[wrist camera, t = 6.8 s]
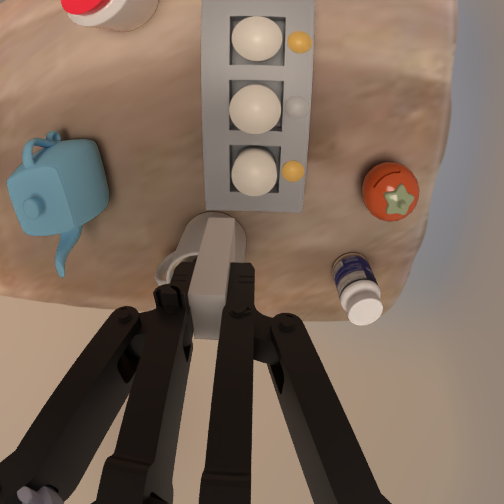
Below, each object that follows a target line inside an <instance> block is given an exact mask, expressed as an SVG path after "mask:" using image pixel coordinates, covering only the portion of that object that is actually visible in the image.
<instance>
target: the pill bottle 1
mask: <svg viewBox="0 0 504 504" xmlns="http://www.w3.org/2000/svg"><path fill="white" fill-rule="evenodd" d="M158 1H159V0H61V4H62V7H63V8H64V10H65V11H66V12H67V13H68V16H69V17H70V19H71V20H72V21H73V22H74V23H76V24H78V25H80V26H84V27H91V28H99V29H106V30H112V31H119V32H126V31H131V30H134V29H136V28H138V27H140V26H142V25H143V24H145V23H146V22H147V21H148V20H149V19H150V18H151V17H152V15H153V14H154V12H155V10H156V8H157V5H158Z"/></svg>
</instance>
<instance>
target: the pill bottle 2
mask: <svg viewBox="0 0 504 504" xmlns="http://www.w3.org/2000/svg"><path fill="white" fill-rule="evenodd" d="M332 274H333V278H334V281H335V284H336V288H337V291H338V295H339V299H340V302H341V305H342V307H343V308H344V309H345V310H346V311H347V315H348V318H349V320H350V321H351V322H352V323H354V324H356V325H367V324H370V323H372V322H374V321H375V320H377V318H379V317H380V315H381V313H382V310H383V306H382V303H381V300H380V295H381V294H380V289H379V286H378V284H377V281H376V279H375V277H374V275H373V272H372V270H371V268H370V266H369V263H368V261H367V260H366V258H365V257H364V256H362V255H361V254H358V253H348V254H345V255H343V256H341V257H340V258H338V259H337V260H336V262H335V263H334V265H333V269H332Z"/></svg>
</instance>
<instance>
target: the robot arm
mask: <svg viewBox="0 0 504 504" xmlns="http://www.w3.org/2000/svg"><path fill="white" fill-rule="evenodd" d="M254 282H255V269H254V267H253V266H252V264H251V263H238V262H235V218H208V222H207V225H206V229H205V232H204V236H203V239H202V243H201V246H200V250H199V254H198V257H197V261H196V262H182V261H181V262H180V263H179V264H178V265H177V266H176V267H175V269H174V272H173V276H172V278H171V281H170V283H168V284H163V285H161V286H159V287H157V288H156V289H155V291H154V292H153V294H154V299H155V303H156V309H154V310H152V311H148V312H142V313H138V311H137V310H136V309H135V308H133V307H130V306H124V307H120V308H118V309H116V310H115V311H114V312H113V313H112V314H111V315H110V316H109V318H108V319H107V320H106V321H105V323H104V324H103V325H102V327H101V328H100V329H99V331H98V332H97V333H96V334H95V336H94V337H93V338H92V340H91V341H90V342H89V344H88V345H87V346H86V348H85V349H84V350H83V352H82V353H81V354H80V356H79V357H78V358H77V360H76V361H75V363H74V364H73V365H72V367H71V368H70V369H69V371H68V372H67V374H66V375H65V376H64V378H63V379H62V381H61V382H60V384H59V385H58V386H57V388H56V389H55V391H54V392H53V394H52V395H51V396H50V398H49V399H48V401H47V402H46V404H45V405H44V407H43V408H42V410H41V412H40V413H39V414H38V416H37V417H36V419H35V420H34V422H33V424H32V425H31V427H30V428H29V430H28V431H27V433H26V434H25V436H24V438H23V439H22V441H21V442H20V444H19V446H18V447H17V449H16V450H15V451H14V452H13V453H12V454H10V455H9V456H8V457H7V458H5V459H4V460H3V461H2V462H0V504H64V501H65V500H67V499H68V498H69V496H70V495H71V494H72V493H73V492H74V490H75V489H76V487H77V486H78V484H79V482H80V480H81V479H82V477H83V475H84V473H85V471H86V470H87V468H88V466H89V464H90V462H91V460H92V459H93V457H94V455H95V453H96V451H97V449H98V448H99V446H100V444H101V442H102V440H103V439H104V437H105V435H106V433H107V431H108V430H109V428H110V426H111V425H112V423H113V421H114V419H115V417H116V416H117V414H118V412H119V410H120V409H121V407H122V405H123V404H124V402H125V400H126V398H127V396H128V395H129V398H128V402H127V405H126V409H125V413H124V416H123V421H122V424H121V428H120V432H119V436H118V440H117V444H116V448H115V452H114V454H113V455H112V456H110V457H108V458H107V459H106V461H105V464H104V467H103V471H102V475H101V480H100V484H99V489H98V494H97V499H96V501H94V502H93V503H91V504H173V485H172V477H173V470H174V463H175V456H176V449H177V442H178V435H179V429H180V421H181V415H182V409H183V403H184V397H185V390H186V385H187V379H188V373H189V367H190V362H191V356H192V351H193V343H192V337H193V332H194V338H195V339H211V340H219V343H218V350H217V359H216V367H215V376H214V385H213V393H212V402H211V412H210V421H209V430H208V440H207V441H208V442H207V450H206V461H205V468H204V471H203V473H202V477H201V485H200V494H199V504H251V449H252V403H253V360H257V361H260V362H263V363H267V366H268V369H269V372H270V375H271V378H272V381H273V384H274V388H275V391H276V393H277V396H278V399H279V403H280V405H281V409H282V411H283V415H284V417H285V421H286V424H287V426H288V429H289V432H290V435H291V438H292V441H293V444H294V447H295V450H296V453H297V456H298V459H299V462H300V464H301V467H302V470H303V473H304V476H305V479H306V481H307V484H308V487H309V490H310V493H311V496H312V499H313V501H314V504H391V503H390V502H389V501H388V500H387V499H386V498H385V497H384V496H383V495H382V494H381V493H380V490H379V488H378V486H377V484H376V481H375V479H374V477H373V474H372V472H371V470H370V468H369V466H368V463H367V461H366V459H365V457H364V454H363V452H362V450H361V447H360V445H359V443H358V441H357V439H356V436H355V434H354V432H353V430H352V427H351V425H350V423H349V421H348V419H347V417H346V414H345V412H344V410H343V408H342V406H341V403H340V401H339V399H338V397H337V395H336V392H335V390H334V388H333V386H332V384H331V382H330V379H329V377H328V375H327V373H326V371H325V369H324V366H323V364H322V362H321V360H320V358H319V356H318V354H317V352H316V349H315V347H314V345H313V343H312V341H311V339H310V336H309V334H308V332H307V330H306V328H305V326H304V324H303V322H302V320H301V319H300V318H299V317H298V316H296V315H294V314H291V313H281V314H278V315H276V316H275V317H273V318H271V317H268V316H265V315H263V314H261V313H259V312H258V311H257V310H256V308H255V305H254ZM129 393H130V394H129Z"/></svg>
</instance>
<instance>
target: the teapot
mask: <svg viewBox="0 0 504 504" xmlns="http://www.w3.org/2000/svg"><path fill="white" fill-rule="evenodd" d="M33 146H41V147H44V148H43V149H41V150H39V151H38V152H36V153H35V154H33V155H32V149H33ZM22 159H23V163H22V164H21V165H20V166H19V167H18V168H17V169H16V170H15V171H14V172H13V174H12V175H11V176H10V177H9V179H8V180H7V188H8V192H9V195H10V198H11V202H12V205H13V207H14V210H15V213H16V215H17V218H18V220H19V223H20V225H21V227H22V229H23V231H24V233H26V234H27V235H32V236H48V235H55V234H60V233H61V237H60V243H59V246H58V249H57V252H56V257H55V265H56V269H57V272H58V274H59V275H60V277H62V278H63V277H64V275H65V261H66V258H67V255H68V254H69V252H70V251H71V249H72V248H73V246H74V245H75V244H76V242H77V241H78V239H79V237H80V235H81V232H82V226H83V224H85V223H87V222H88V221H90V220H92V219H93V218H95V217H96V216H97V215H99V214H100V213H101V212H102V211H103V210H104V209H105V208H106V207H107V205H108V202H109V189H108V184H107V179H106V175H105V171H104V167H103V163H102V159H101V156H100V152H99V149H98V146H97V144H96V143H95V142H94V141H92V140H88V139H73V140H66V141H61V137H60V135H59V133H58V132H57V131H50V132H49V133H48V134H47V135H46V139H42V138H34V139H31V140H29V141H28V142H27V143H26V144H25V146H24V149H23V153H22Z"/></svg>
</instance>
